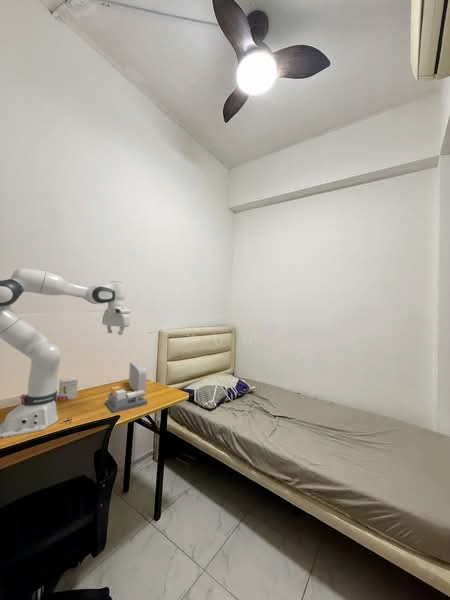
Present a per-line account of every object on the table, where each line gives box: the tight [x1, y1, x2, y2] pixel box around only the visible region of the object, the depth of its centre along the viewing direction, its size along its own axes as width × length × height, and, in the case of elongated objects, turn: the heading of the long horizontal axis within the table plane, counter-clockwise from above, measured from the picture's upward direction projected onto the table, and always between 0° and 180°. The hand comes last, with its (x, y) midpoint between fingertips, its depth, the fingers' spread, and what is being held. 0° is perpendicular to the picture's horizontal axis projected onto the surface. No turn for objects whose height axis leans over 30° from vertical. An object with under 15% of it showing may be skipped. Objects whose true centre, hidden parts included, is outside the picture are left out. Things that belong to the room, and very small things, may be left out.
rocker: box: [126, 390, 146, 398], centre depth 140 cm, size 10×4×2 cm, turn 132°
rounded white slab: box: [128, 361, 148, 393], centre depth 164 cm, size 27×7×17 cm, turn 34°
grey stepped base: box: [104, 392, 148, 414], centre depth 139 cm, size 19×15×6 cm
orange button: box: [110, 385, 122, 396], centre depth 139 cm, size 4×4×5 cm
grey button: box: [115, 389, 127, 400], centre depth 134 cm, size 4×4×5 cm
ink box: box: [57, 377, 78, 402], centre depth 144 cm, size 9×5×12 cm, turn 138°
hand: (115, 333), depth 135 cm, fingers open, 8 cm apart
